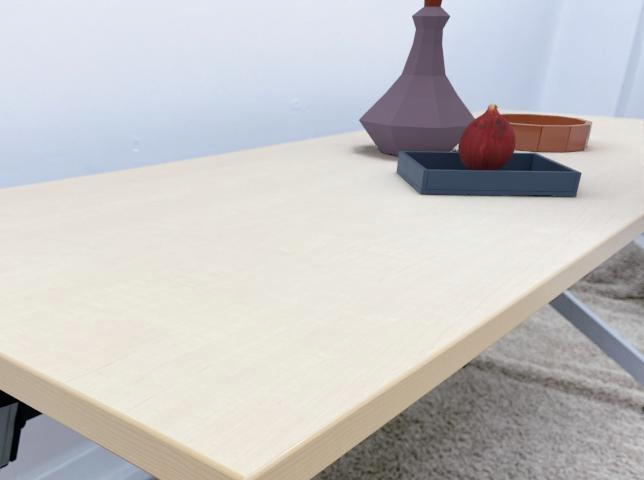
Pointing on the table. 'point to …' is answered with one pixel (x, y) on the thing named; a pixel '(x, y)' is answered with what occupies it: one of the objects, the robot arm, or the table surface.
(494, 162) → the onion
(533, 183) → the tray
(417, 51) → the flask
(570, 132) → the bowl
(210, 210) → the table surface
